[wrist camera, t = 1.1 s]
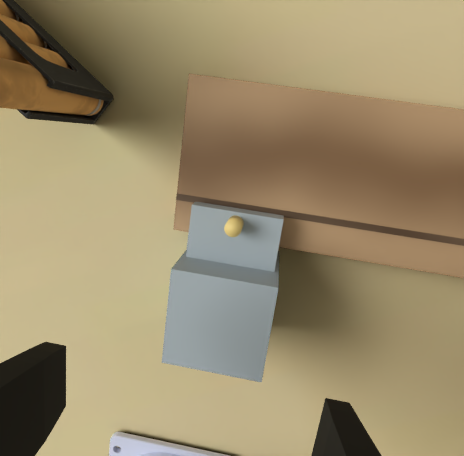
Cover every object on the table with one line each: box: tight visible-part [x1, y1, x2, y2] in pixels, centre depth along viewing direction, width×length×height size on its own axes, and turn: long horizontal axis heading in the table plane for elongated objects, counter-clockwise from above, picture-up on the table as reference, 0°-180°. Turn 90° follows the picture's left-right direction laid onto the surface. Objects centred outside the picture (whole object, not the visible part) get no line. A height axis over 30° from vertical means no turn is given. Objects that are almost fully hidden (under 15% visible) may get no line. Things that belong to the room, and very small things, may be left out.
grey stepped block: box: [162, 202, 284, 382], centre depth 18 cm, size 7×4×5 cm, turn 172°
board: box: [174, 74, 464, 278], centre depth 18 cm, size 7×20×2 cm, turn 82°
